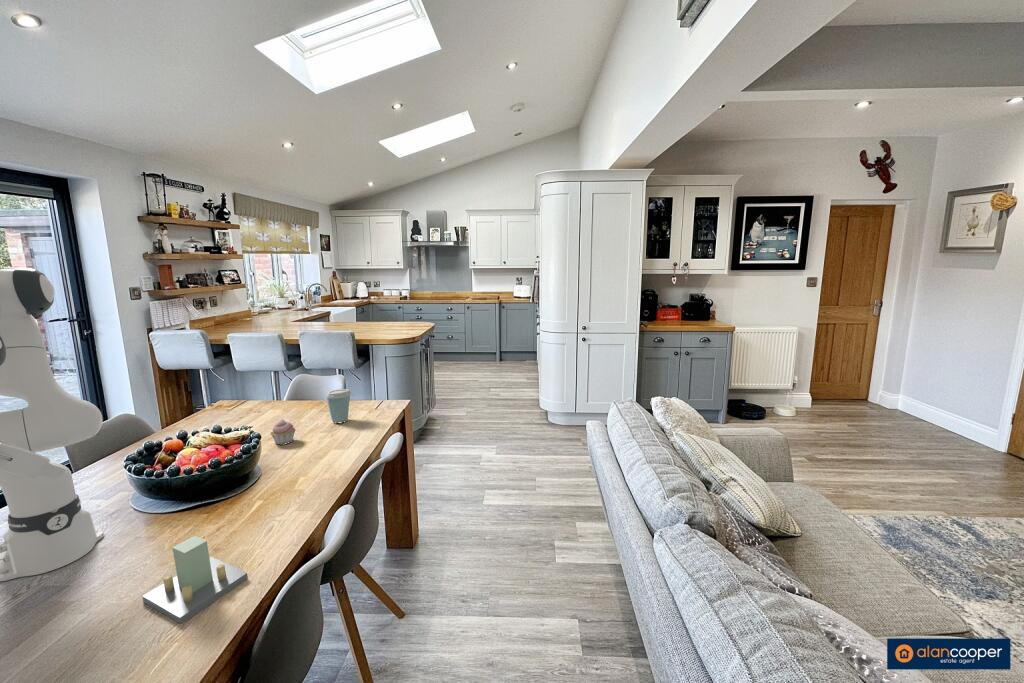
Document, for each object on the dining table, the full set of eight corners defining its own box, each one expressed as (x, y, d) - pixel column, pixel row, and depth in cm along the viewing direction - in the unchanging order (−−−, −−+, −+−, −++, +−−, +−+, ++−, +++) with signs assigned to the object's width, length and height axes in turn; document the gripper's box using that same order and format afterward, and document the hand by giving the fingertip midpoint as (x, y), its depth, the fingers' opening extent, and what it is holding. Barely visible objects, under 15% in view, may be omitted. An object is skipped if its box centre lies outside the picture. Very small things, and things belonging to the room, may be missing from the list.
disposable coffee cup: (323, 422, 197) (320, 391, 194) (344, 415, 206) (341, 385, 203) (337, 427, 191) (334, 395, 188) (357, 420, 200) (355, 389, 197)
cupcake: (302, 438, 179) (299, 415, 178) (286, 447, 170) (284, 424, 169) (282, 436, 181) (279, 414, 179) (266, 446, 172) (263, 422, 170)
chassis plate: (143, 602, 92) (139, 583, 92) (211, 561, 105) (208, 545, 104) (181, 624, 87) (177, 604, 86) (247, 578, 99) (245, 561, 98)
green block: (179, 587, 94) (172, 547, 93) (200, 574, 98) (194, 535, 97) (191, 594, 93) (184, 553, 91) (212, 580, 97) (206, 540, 95)
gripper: (-3, 431, 67) (89, 462, 78) (-50, 413, 76) (39, 444, 86) (-41, 469, 64) (61, 497, 75) (-85, 446, 73) (12, 474, 83)
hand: (49, 468), depth 80 cm, fingers open, 8 cm apart
